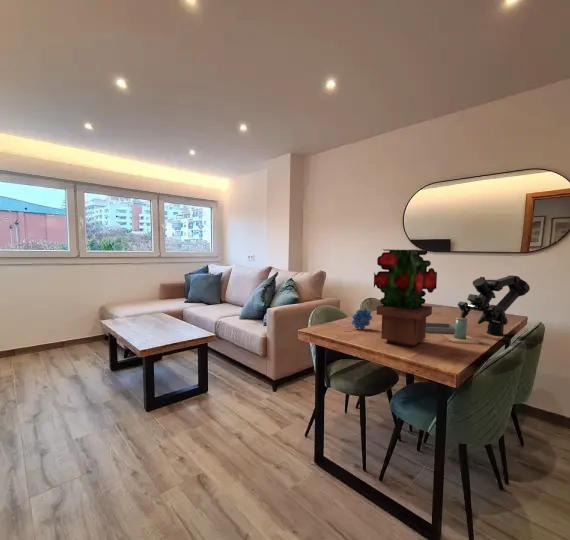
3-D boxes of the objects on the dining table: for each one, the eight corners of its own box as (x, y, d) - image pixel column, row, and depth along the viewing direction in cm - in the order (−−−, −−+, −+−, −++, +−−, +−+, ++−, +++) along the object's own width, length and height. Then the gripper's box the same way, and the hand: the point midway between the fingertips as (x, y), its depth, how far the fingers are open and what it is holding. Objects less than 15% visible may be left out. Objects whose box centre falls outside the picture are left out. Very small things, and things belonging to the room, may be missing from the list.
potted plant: (372, 342, 144) (374, 249, 141) (389, 333, 161) (392, 250, 158) (420, 352, 129) (424, 249, 127) (434, 341, 146) (438, 250, 144)
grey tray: (449, 329, 171) (449, 323, 171) (458, 335, 159) (459, 328, 159) (416, 328, 173) (416, 322, 173) (423, 333, 161) (423, 327, 161)
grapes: (369, 327, 174) (369, 306, 173) (373, 330, 167) (373, 309, 167) (349, 327, 174) (350, 306, 173) (352, 330, 167) (353, 308, 166)
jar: (457, 335, 154) (458, 316, 153) (468, 338, 150) (469, 318, 149) (452, 337, 151) (453, 317, 150) (463, 339, 147) (463, 319, 146)
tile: (467, 337, 155) (467, 335, 155) (478, 344, 144) (478, 342, 144) (442, 336, 157) (442, 334, 157) (452, 342, 145) (452, 340, 145)
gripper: (460, 286, 162) (445, 308, 158) (496, 290, 145) (481, 315, 141) (469, 300, 166) (455, 321, 162) (505, 305, 149) (490, 329, 145)
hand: (469, 321), depth 153 cm, fingers open, 9 cm apart
